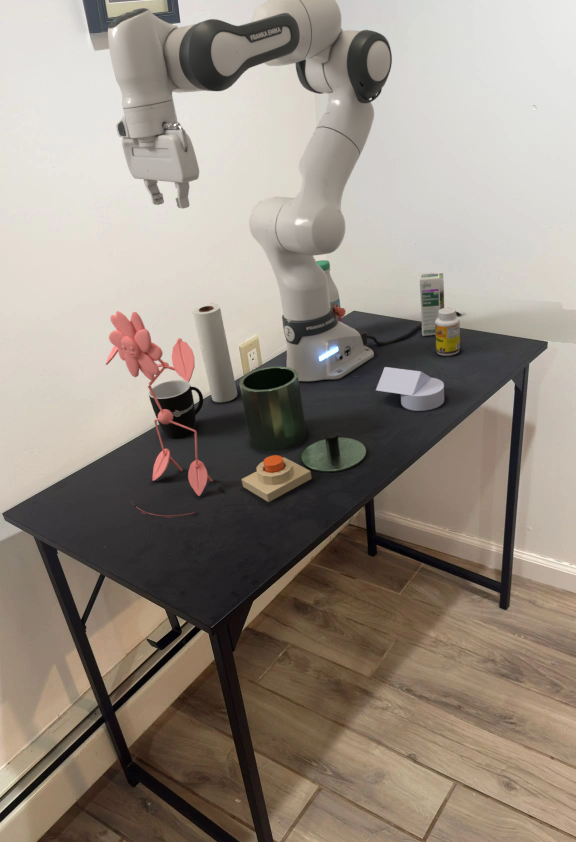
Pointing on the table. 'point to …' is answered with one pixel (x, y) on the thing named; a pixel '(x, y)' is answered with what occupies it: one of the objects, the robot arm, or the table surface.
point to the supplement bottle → (447, 332)
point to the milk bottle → (331, 286)
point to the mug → (176, 406)
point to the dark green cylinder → (273, 408)
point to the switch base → (276, 480)
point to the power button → (273, 464)
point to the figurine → (141, 355)
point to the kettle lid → (333, 454)
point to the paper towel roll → (215, 352)
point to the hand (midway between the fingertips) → (171, 205)
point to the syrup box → (431, 300)
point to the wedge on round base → (413, 388)
